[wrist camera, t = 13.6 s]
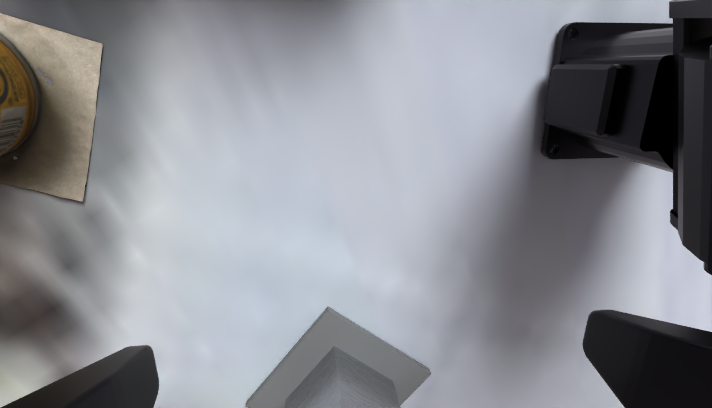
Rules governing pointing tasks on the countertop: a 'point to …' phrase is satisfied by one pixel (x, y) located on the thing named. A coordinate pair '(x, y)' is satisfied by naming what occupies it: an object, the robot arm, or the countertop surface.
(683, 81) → the robot arm
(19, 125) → the condiment
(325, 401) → the brushed metal block
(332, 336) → the pad
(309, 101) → the countertop surface
